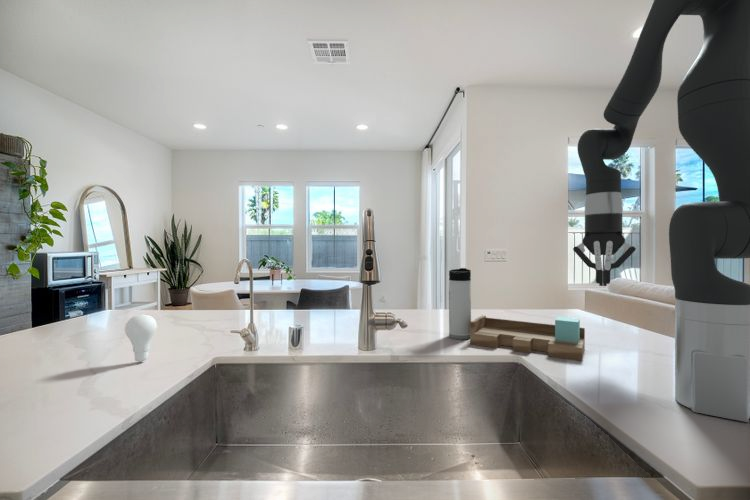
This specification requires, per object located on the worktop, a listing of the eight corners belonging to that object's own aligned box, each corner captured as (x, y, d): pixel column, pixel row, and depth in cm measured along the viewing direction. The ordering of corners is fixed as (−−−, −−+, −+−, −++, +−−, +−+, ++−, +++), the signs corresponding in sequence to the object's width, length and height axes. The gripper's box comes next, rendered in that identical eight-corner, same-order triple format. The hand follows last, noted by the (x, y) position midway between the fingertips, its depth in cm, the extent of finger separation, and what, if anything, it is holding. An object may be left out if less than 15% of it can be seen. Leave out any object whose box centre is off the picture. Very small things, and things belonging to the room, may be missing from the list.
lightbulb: (160, 362, 80) (160, 314, 80) (128, 368, 75) (128, 318, 75) (152, 356, 84) (152, 311, 84) (122, 362, 79) (121, 314, 79)
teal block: (578, 342, 84) (578, 322, 84) (555, 339, 86) (555, 319, 86) (579, 338, 88) (579, 318, 88) (557, 335, 91) (557, 316, 91)
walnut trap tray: (582, 361, 79) (582, 334, 79) (470, 344, 94) (470, 321, 94) (584, 349, 89) (584, 325, 89) (482, 335, 103) (482, 315, 103)
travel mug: (474, 335, 103) (474, 268, 103) (467, 340, 97) (467, 269, 97) (453, 333, 106) (453, 267, 106) (445, 337, 101) (445, 268, 100)
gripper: (569, 213, 83) (570, 285, 84) (639, 210, 76) (639, 289, 76) (572, 216, 90) (572, 283, 90) (636, 212, 82) (636, 285, 82)
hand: (603, 285), depth 83 cm, fingers closed
